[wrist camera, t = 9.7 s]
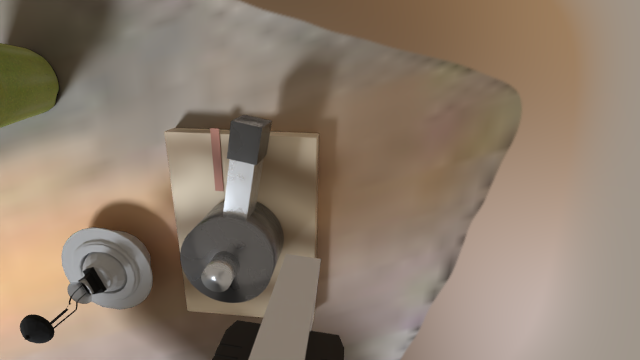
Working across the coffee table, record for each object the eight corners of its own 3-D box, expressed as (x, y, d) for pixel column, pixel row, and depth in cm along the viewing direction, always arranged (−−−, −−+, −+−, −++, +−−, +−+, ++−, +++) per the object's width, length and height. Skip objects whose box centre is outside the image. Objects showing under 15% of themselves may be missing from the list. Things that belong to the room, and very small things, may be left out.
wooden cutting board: (315, 309, 39) (313, 322, 37) (195, 299, 40) (187, 311, 38) (318, 127, 32) (316, 132, 30) (174, 122, 33) (162, 126, 31)
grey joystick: (-61, 301, 27) (12, 394, 30) (40, 273, 25) (107, 376, 28) (64, 228, 38) (108, 301, 41) (140, 206, 36) (180, 283, 39)
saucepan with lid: (276, 278, 35) (258, 330, 28) (201, 260, 35) (164, 308, 28) (306, 125, 30) (292, 144, 23) (216, 105, 30) (176, 118, 23)
